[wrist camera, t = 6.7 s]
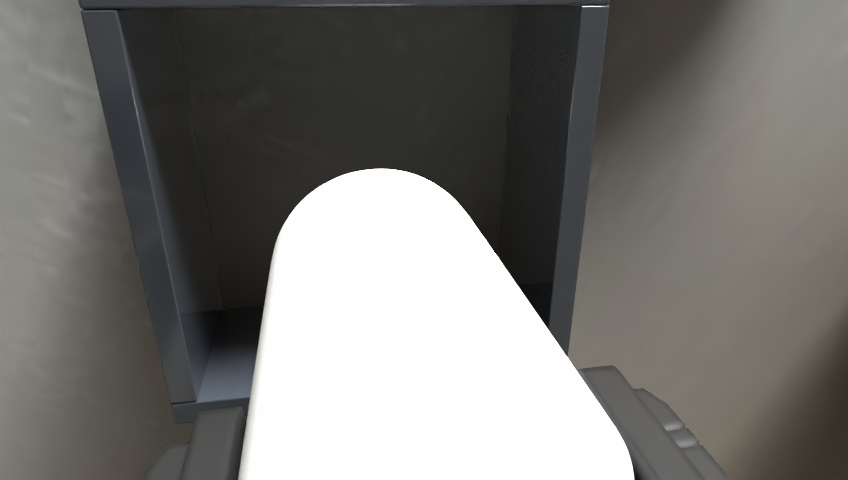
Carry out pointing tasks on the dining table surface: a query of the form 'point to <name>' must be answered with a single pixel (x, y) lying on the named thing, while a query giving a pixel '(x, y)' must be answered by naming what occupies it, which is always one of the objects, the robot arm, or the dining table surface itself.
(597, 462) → the beverage can
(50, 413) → the dining table surface
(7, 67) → the dining table surface
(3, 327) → the dining table surface
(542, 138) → the grey open box
